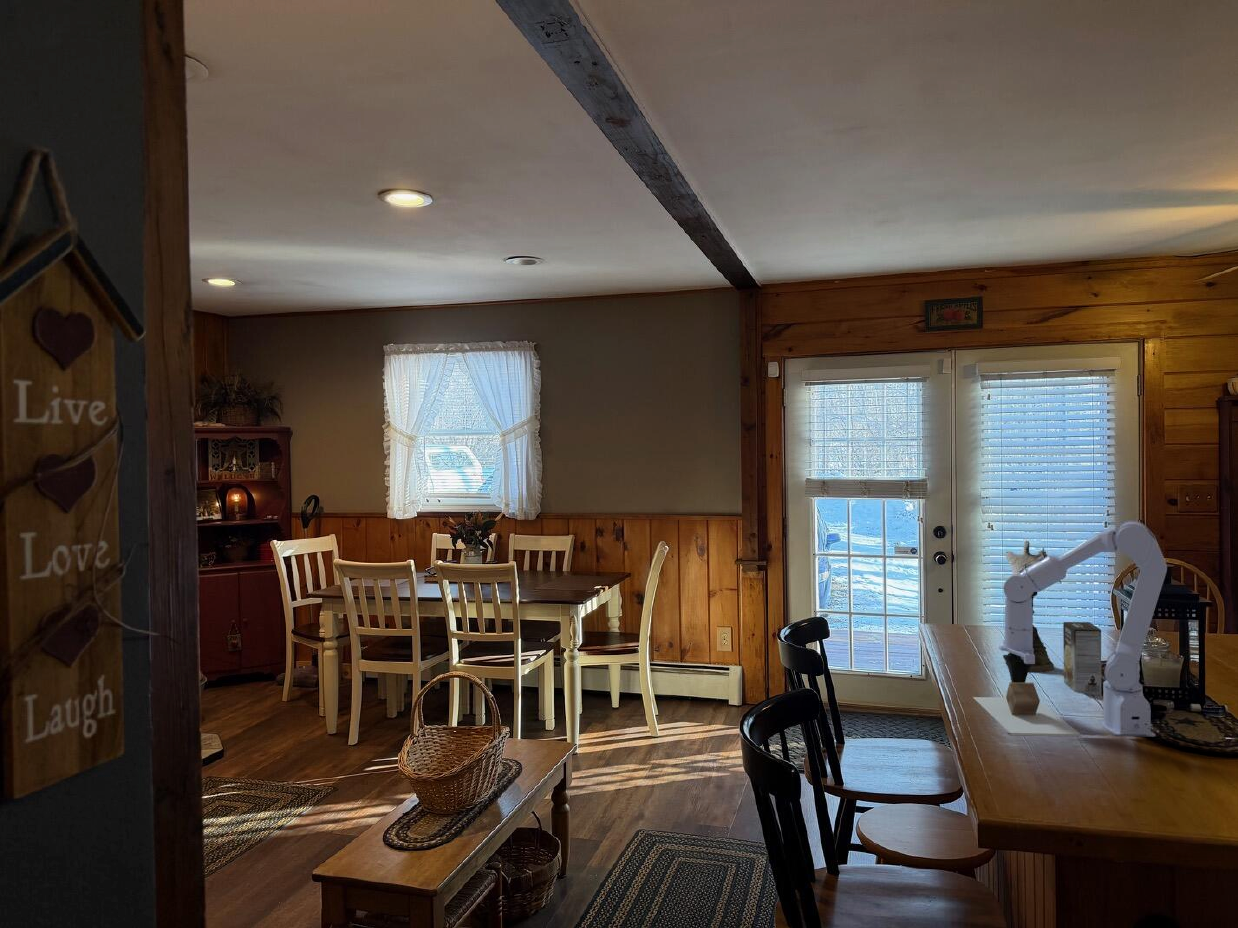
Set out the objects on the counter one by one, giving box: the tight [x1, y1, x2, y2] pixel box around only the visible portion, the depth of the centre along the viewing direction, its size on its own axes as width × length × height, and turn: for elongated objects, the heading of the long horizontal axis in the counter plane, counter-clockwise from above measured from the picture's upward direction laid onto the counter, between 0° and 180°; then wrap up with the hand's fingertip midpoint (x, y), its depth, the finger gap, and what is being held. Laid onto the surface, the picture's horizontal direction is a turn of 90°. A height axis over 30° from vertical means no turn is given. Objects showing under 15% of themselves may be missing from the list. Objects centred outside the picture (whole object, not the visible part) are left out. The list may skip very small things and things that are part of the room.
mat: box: [972, 696, 1082, 738], centre depth 190 cm, size 26×14×1 cm, turn 173°
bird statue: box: [1004, 540, 1062, 673], centre depth 230 cm, size 17×13×35 cm
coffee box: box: [1062, 621, 1102, 696], centre depth 210 cm, size 9×6×16 cm
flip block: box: [1005, 682, 1041, 715], centre depth 190 cm, size 5×5×5 cm
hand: (1018, 687), depth 192 cm, fingers closed, pressing on flip block
